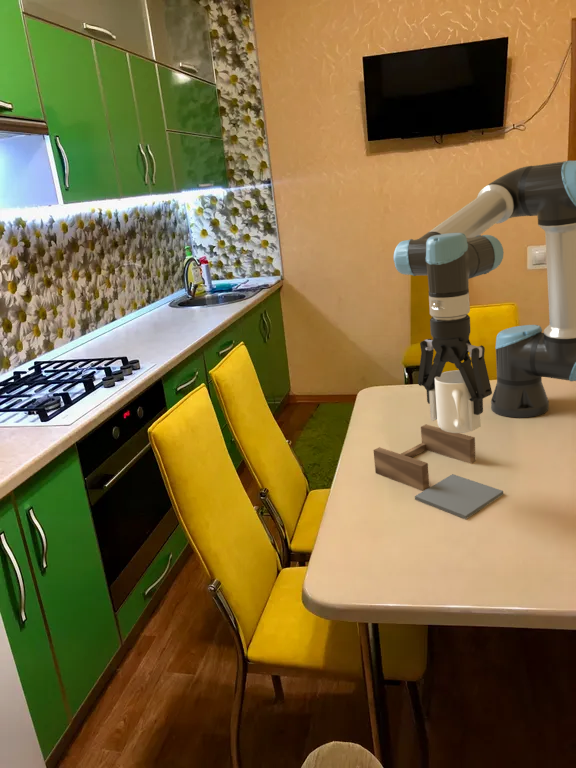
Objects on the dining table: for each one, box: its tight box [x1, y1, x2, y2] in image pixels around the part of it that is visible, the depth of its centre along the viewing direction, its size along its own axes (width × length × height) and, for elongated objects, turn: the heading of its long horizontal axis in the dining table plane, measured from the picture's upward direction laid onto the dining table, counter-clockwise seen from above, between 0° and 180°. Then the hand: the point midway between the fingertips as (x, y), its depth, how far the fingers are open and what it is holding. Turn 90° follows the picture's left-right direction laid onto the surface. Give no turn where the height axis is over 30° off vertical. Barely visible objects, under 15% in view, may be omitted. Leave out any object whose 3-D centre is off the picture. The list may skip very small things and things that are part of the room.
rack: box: [373, 424, 477, 492], centre depth 146 cm, size 19×14×6 cm
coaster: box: [414, 473, 504, 520], centre depth 131 cm, size 13×13×1 cm
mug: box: [435, 369, 471, 434], centre depth 124 cm, size 9×12×11 cm
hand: (455, 423), depth 126 cm, fingers closed on mug, 9 cm apart
